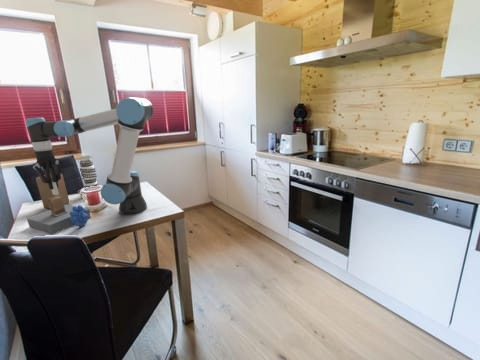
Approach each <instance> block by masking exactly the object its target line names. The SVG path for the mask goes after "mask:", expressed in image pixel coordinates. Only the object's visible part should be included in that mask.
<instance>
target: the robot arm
mask: <svg viewBox="0 0 480 360" xmlns="http://www.w3.org/2000/svg"><path fill="white" fill-rule="evenodd" d="M153 115H154V106H153V104H152V103H151V101H150V100H149V99H147V98H145V97H134V96H129V97H124V98H122V99H121V100H120V101H119V102H118V103H117V105H116V107H115V108H113V109H109V110H105V111H101V112H96V113H93V114H89V115H84V116H79V117H77V118H72V119H65V120H52V121H46V119H45V117H29V118H26V119H25V125H26V129H27V131H28V134H29V139H30V142H31V145H32V148H33V150H34V153H33V154H34V156H35V159H36V164H35V165H33V166H32V167H31V168H32V169H33V170H34V171H36V173H37V175H38V177H40V178H41V180H42V182H43V183H48V186H49V189H51V190H52V193H53V195H58V194H59V192H58V189H57V188H58V187H59V186H58V180H60V179H61V174H62V172H61V171H62V168H61V167H62V166H61V165H62V163H63V161H62V160H57V158H56V157H55V151H54V149H53V145H52V144H53V143H52V141H51V138H65V137H70V136H72V135H77V134H83V133H85V132H88V131H94V130H98V129H102V128H106V127H110V126H114V125H118V126H119V133H118V139H117V143H116V148H115V149H116V150H115V154H114V159H113V163H112V169H111V172H110V173H108V174H107V177H106V182H105V184H103V185H102V187H101V188H100V196H101V198H102V199H103V200H104V202H106V203H107V204H109V205H119V206H118V211H119V214H121V215H126V216H127V215H135V214H138V213H141V212H143V211H146V209H147V208H148V206H147V202H146V199H144V196H143V194H142V187H141V180H140V175H139V172H138V171H137V170H132V167H133V163H134V159H135V155H136V151H137V146H138V141H139V136H140V133H141V132H142V131H144V129H145V126H146V122H148V121H149V120H150V119H151V118H152V117H153ZM50 174H51V175H50ZM51 178H52V179H51ZM52 181H53V182H52Z"/></svg>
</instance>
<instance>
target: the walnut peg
mask: <svg viewBox="0 0 480 360" xmlns="http://www.w3.org/2000/svg"><path fill="white" fill-rule="evenodd" d="M48 202H49V206H50V208H49V209H50V210H51V213H52V216H55V217H58V216H60V215H63V214H65V213H66V211H65V207H64V203H63V200H62V197H59V196H55V197H52V198H49V199H48Z"/></svg>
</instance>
